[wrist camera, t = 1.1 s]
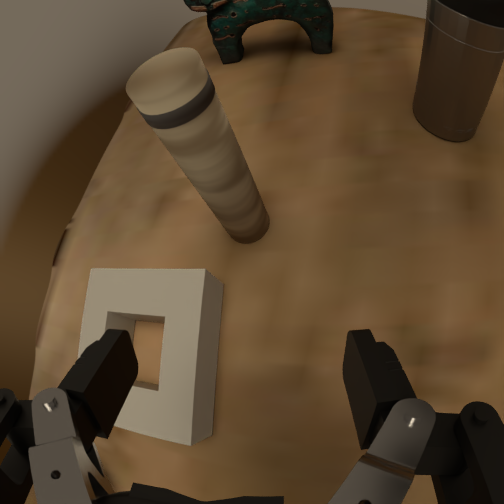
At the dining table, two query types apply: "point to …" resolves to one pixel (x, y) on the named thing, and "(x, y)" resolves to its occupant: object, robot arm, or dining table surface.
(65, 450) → the robot arm
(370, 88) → the dining table surface
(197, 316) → the well block
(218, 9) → the ceramic cat
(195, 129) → the beech dowel
